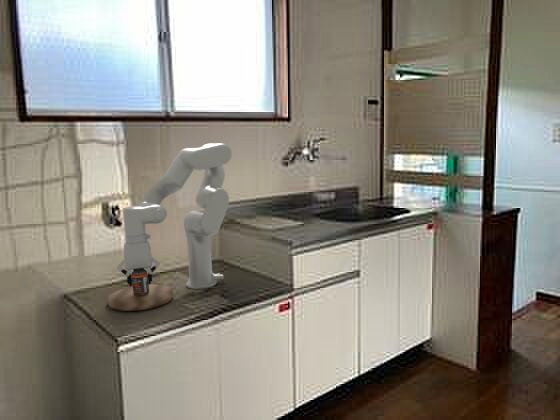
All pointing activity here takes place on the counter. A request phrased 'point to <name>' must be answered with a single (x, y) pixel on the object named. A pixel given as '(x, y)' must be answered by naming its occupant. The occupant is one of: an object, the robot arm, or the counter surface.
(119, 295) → the turntable
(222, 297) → the counter surface
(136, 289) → the supplement bottle
